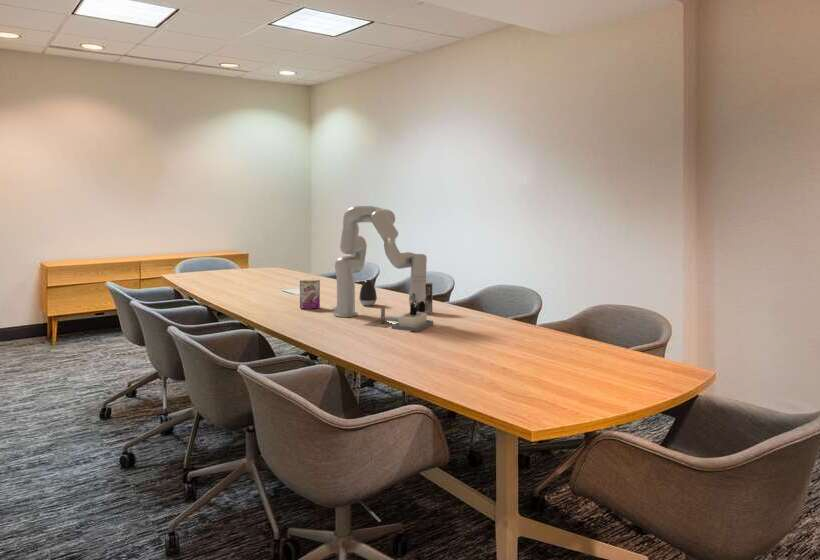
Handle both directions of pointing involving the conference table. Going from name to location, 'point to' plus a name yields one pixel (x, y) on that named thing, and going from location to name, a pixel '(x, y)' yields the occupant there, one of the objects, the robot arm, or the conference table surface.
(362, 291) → the dark vase
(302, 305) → the candy bar box
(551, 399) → the conference table surface
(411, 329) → the tray
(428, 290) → the coffee box
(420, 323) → the collar
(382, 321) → the stake stand
